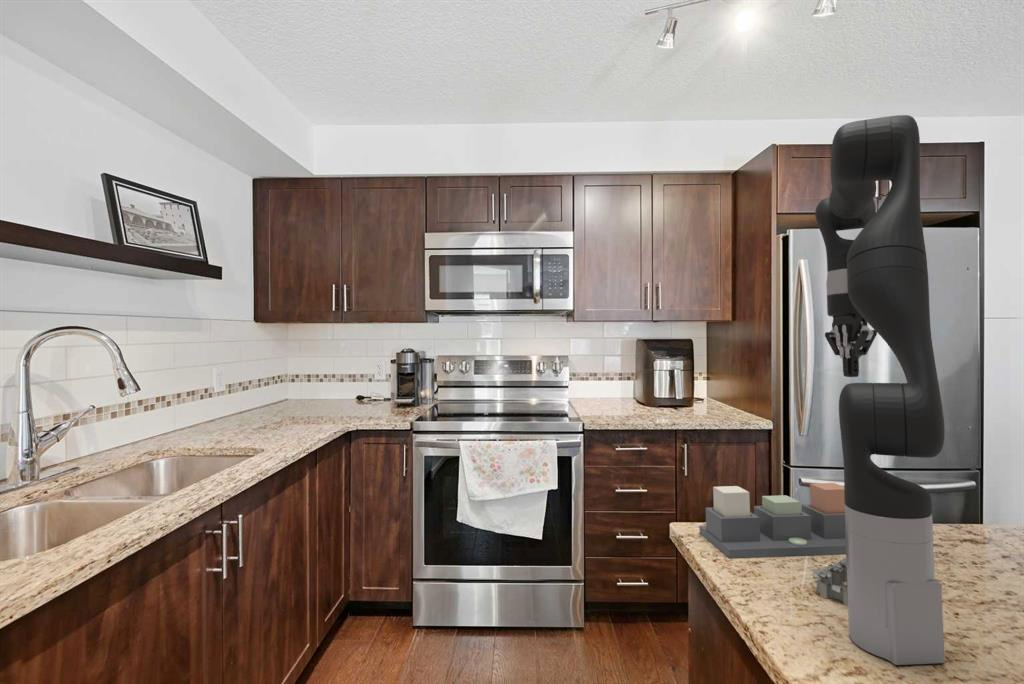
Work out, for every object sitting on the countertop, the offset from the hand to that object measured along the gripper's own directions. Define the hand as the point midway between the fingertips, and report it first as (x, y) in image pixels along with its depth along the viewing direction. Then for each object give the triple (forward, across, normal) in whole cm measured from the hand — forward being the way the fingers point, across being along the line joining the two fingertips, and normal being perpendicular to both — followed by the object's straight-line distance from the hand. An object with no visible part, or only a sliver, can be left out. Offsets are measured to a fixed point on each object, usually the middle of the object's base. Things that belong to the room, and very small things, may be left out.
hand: (850, 376), depth 110 cm
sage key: (+30, -3, +17) cm, 34 cm away
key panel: (+32, -3, +17) cm, 36 cm away
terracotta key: (+27, -3, +7) cm, 29 cm away
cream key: (+27, -3, +27) cm, 39 cm away
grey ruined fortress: (+32, -26, +19) cm, 45 cm away
